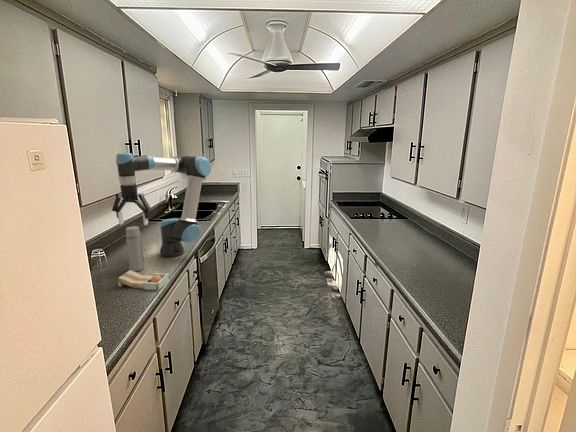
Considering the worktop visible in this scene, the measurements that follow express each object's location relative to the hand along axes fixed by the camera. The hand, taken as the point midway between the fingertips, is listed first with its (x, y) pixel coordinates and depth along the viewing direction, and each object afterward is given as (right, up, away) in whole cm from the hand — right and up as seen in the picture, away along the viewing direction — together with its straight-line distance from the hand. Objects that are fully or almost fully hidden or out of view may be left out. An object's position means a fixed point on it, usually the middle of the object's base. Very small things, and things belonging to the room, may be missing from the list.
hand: (133, 224), depth 170 cm
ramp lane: (+2, -31, -1) cm, 31 cm away
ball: (+11, -31, -2) cm, 33 cm away
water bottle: (-5, -27, +17) cm, 32 cm away
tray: (+13, -31, -2) cm, 34 cm away
